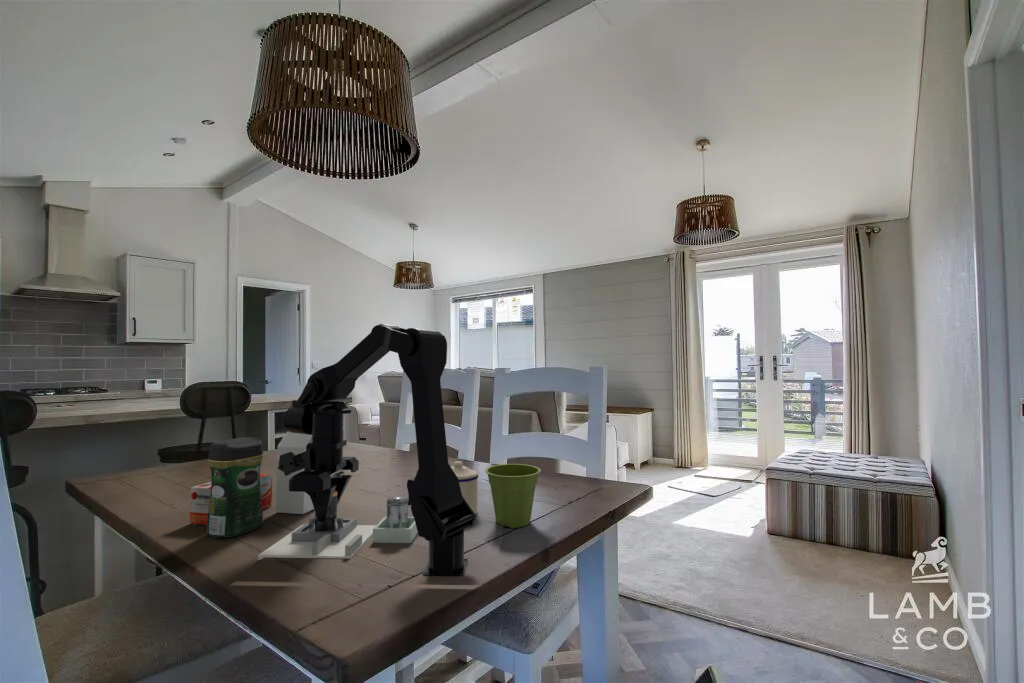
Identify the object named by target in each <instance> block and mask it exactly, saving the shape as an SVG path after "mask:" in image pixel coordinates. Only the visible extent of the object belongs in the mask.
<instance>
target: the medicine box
mask: <svg viewBox="0 0 1024 683" xmlns="http://www.w3.org/2000/svg"><path fill="white" fill-rule="evenodd" d="M211 482H212V481H210V482H205V483H202V484H199V485H196V486H191V487H190V495H189V496H190V498H189V522H190V523H191V524H190V525H196V524H202V525H201V526H207V517H208V510H209V503H210V494H211ZM260 489H261V501H262V511H264V510H263V509H265V510H267V509H270V508H271V507H272V498H273V477H272V474H271V473H260ZM270 506H271V507H270ZM269 507H270V508H269ZM266 508H267V509H266ZM192 523H193V524H192Z"/></svg>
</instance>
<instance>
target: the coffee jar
mask: <svg viewBox="0 0 1024 683" xmlns="http://www.w3.org/2000/svg"><path fill="white" fill-rule="evenodd" d="M208 450H209V451H208V460H207V463H208V466H209V468H210V472H211V481H210V482H211V494H210V503H209V510H208V517H207V525H206V534H207V535H209V536H210V537H212V538H215V539H220V538H233V537H237V536H240V535H243V534H246V533H249V532H251V531H254V530H257V529H258V528H260V527H262V524H263V523H264V520H263V519H264V518H263V515H264V514H263V510H262V501H261V489H260V474H261V466H262V461H263V458H264V449H263V442H262V440H261V438H259V437H249V436H247V437H244V436H243V437H236V438H231V439H225V440H220V441H215V442H212V443H211V445H210V446H209V449H208Z"/></svg>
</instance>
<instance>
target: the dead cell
mask: <svg viewBox="0 0 1024 683" xmlns="http://www.w3.org/2000/svg"><path fill="white" fill-rule="evenodd" d="M408 500H409V497H405V496H394V497H389V498H387V499H386V517H387V528H408V517H409V506H408Z"/></svg>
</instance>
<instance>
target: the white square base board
mask: <svg viewBox="0 0 1024 683" xmlns="http://www.w3.org/2000/svg"><path fill="white" fill-rule="evenodd" d="M338 518H339V517H337V519H338ZM342 518H343V522H344V523H346V524H345V525H344V526H343V527H342V528H341V529H339V530H338V531H337V532H304V531H306V530H307V529H308V528H309V521H307V522H306V523H304V524H301V525H300V526H299V527H297V528H296V529H294V530H292V531H291V532H290V533H289V534H287V535H285V536H284V537H283V538H281V539H279V540H278V541H276V542H275V543H273V544H272V545H270V546H269V547H268V548H267V549H265V550H263V551H262V552H261V553H260V554H258V556H257V560H258V561H260V560H262V559H264V558H281V559H283V558H285V559H286V558H287V559H288V558H290V559H292V558H293V559H296V558H297V559H299V558H300V559H345V560H346V559H351V558H352V557H353V556H354V555H355V554H356V553H357V552H358V551H359V550H360V549H362V547H363V546H364V544H366V542H368V541H369V539H371V538H372V537H373V528H374V527H375V526H376V525H377V524H375V525H373V524H372V525H371V524H370V525H369V524H368V525H367V524H366V525H365V524H364V525H360V524H358V518H351V517H350V518H347V517H346V518H344V517H342Z"/></svg>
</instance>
